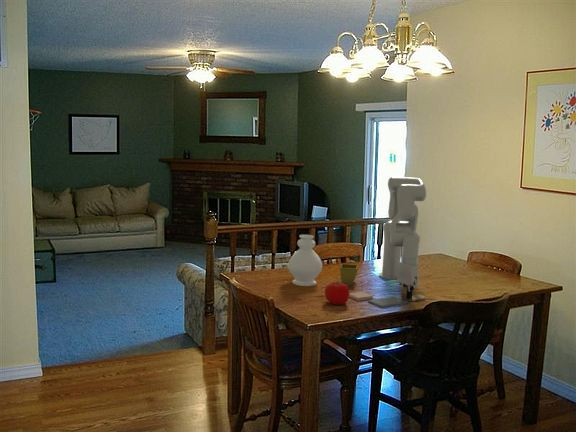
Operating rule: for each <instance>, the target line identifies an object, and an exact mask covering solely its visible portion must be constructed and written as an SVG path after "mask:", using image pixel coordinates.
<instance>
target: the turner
mask: <svg viewBox="0 0 576 432" xmlns="http://www.w3.org/2000/svg"><path fill="white" fill-rule="evenodd" d="M407 291H408V285H405V286H402V289H401V293H402V297H401V299H402V300H404V301H407V302H411V301H412V302H415V301H420V300H425V299H426V296H423V295H421V294H419V293H418V294H412V299H406V298H407Z"/></svg>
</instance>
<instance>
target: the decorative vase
mask: <svg viewBox="0 0 576 432" xmlns="http://www.w3.org/2000/svg"><path fill="white" fill-rule="evenodd" d="M299 238H300V239H298V240H297V243H296V245H297V246H298V247H299V248H298V250H296V252H294V253H293V254H292V256H290V258H289V260H288V264H287V268H288V271H289V272H290V274H291V276H293V278H294V279H293V280H291V281H292V282H291V283H292V284H293V285H295V286H303V287H313V286H316V285H317V281H316V280H315V279H316V278H317V277H318V276H319V275H320V274H321V272H322V270H323V262H322V260H321V258H320V257H319V255H318V254H317V253H316V251H314V249H313V248H314V247H315V246H316V241H315V240H314V238H315V236H314V235H312V234H299Z"/></svg>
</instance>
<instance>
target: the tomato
mask: <svg viewBox="0 0 576 432" xmlns="http://www.w3.org/2000/svg"><path fill="white" fill-rule="evenodd" d="M349 293H350V290H349V287H348V286H347V283H344V282H338V281H333V282H330V283H329V284H327V286H326V287H325V289H324V295H325V299H326V300H327V301H328V302H329V303H330V304H334V305H336V306H337V305H338V306H340V305H343V304H345V303H347V302H348V300H349V298H350V297H349Z"/></svg>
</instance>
